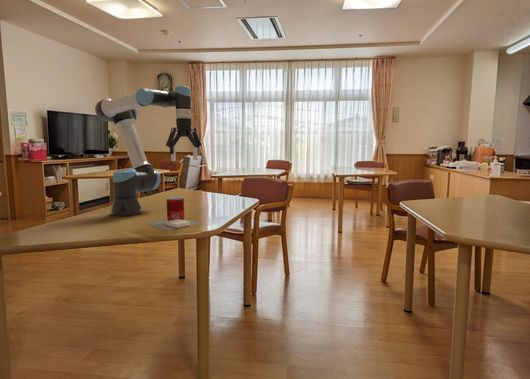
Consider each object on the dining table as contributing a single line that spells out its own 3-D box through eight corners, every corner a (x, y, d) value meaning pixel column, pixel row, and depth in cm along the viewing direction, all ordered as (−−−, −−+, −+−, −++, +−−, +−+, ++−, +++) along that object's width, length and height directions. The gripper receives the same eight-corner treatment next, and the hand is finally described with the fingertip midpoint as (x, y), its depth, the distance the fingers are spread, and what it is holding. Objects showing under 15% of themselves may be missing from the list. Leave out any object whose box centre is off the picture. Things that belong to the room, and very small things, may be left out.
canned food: (187, 219, 176) (187, 196, 175) (175, 222, 170) (174, 199, 168) (176, 217, 181) (176, 195, 179) (163, 220, 174) (163, 197, 173)
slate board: (145, 226, 168) (144, 223, 167) (177, 220, 181) (177, 217, 181) (168, 233, 156) (168, 230, 156) (201, 225, 170) (201, 223, 169)
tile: (164, 221, 165) (176, 224, 159) (177, 219, 170) (189, 221, 164) (164, 225, 165) (177, 228, 159) (177, 222, 170) (190, 225, 165)
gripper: (166, 116, 174) (168, 161, 176) (207, 118, 192) (208, 159, 195) (157, 117, 178) (159, 161, 181) (198, 119, 197) (199, 159, 200)
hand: (184, 160), depth 188 cm, fingers open, 13 cm apart
